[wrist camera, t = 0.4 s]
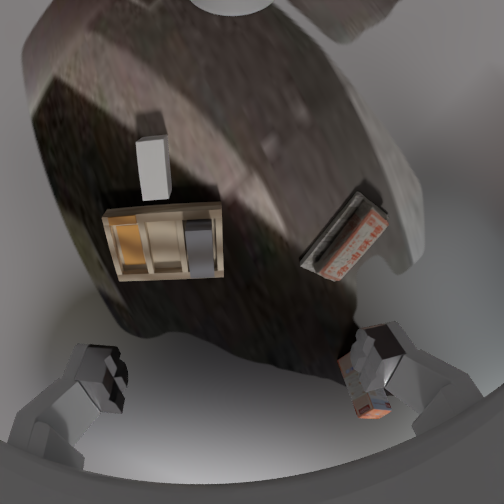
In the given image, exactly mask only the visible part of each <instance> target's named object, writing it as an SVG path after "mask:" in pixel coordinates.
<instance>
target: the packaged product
mask: <svg viewBox="0 0 504 504" xmlns="http://www.w3.org/2000/svg"><path fill="white" fill-rule="evenodd" d="M388 218H389V217H388V216H387V215H386V214H385V213H384V212H383V211H382V210H381V209H380V208H379V207H377V206H376V205H375V204H373V203H372V202H371V201H369V200H368V199H367V198H366V197H365V196H364V195H362V194H361V193H360V192H358V191H357V192H356V193H355V194H354V195H353V197H352V198H351V199H350V201H349V202H348V203H347V204H346V206H345V207H344V208H343V209H342V210H341V211H340V213H339V214H338V215H337V216H336V217H335V219H334V220H333V221H332V222H331V223H330V225H329V226H328V227H327V228H326V229H325V231H324V232H323V233H322V234H321V236H320V237H319V238H318V239H317V240H316V242H315V243H314V244H313V246H312V247H311V248H310V249H309V251H308V252H307V253H306V255H305V256H304V257H303V258H302V260H301V261H300V266H301V267H303V268H305V269H308V270H310V271H312V272H315V273H316V274H319V275H320V276H322V277H324V278H326V279H330V280H333V281H339V280H341V279H342V278H343V276H344V275H345V274H346V273H347V272H348V271H349V270H350V269H351V268H352V267H353V266H354V264H355V263H356V262H357V261H358V260H359V259H360V258H361V257H362V255H363V254H364V253H365V252H366V251H367V250H368V249H369V248H370V246H371V245H372V244H373V243H374V242H375V241H376V239H377V238H378V237H379V236H380V235H381V234H382V233H383V231H384V230H385V229H386V228H387V226H388V225H389V222H388V220H387V219H388Z"/></svg>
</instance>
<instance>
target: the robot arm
mask: <svg viewBox="0 0 504 504" xmlns="http://www.w3.org/2000/svg"><path fill="white" fill-rule="evenodd" d="M190 1H191V2H192V3H193V4H195V5H196V6H197V7H199V8H201V9H203V10H205V11H207V12H210V13H213V14H217V15H224V16H240V15H247V14H251V13H254V12H257V11H260V10H262V9H264V8H265V7H267V6H269V5H270V4H271V3H272V2H274V0H190ZM355 337H356V339H357V341H356V342H355V343H354V344H353V345H352V348H351V351H350V359H351V363H352V366H353V368H354V370H356V371H358V372H359V373H360V376H359V380H360V382H361V384H362V386H363V388H364V391H365V392H369V391H373V390H377V389H380V388H384V387H385V389H387V390H388V391H389V392H391V393H392V394H393V395H394V396H396V397H397V398H398V399H400V400H401V401H402V402H404V403H405V404H406V405H408V406H409V407H411V408H412V409H413V410H414V411H416V412H417V413H419V414H420V415H419V417H418V418H417V419H416V420H415V421H414V422H413V424H412V428H413V430H414V432H415V434H416V437H414V438H412V439H410V440H407V441H405V442H403V443H400V444H398V445H396V446H393V447H391V448H388V449H386V450H383V451H381V452H378V453H375V454H372V455H370V456H367V457H364V458H361V459H358V460H354V461H351V462H348V463H345V464H342V465H338V466H334V467H331V468H326V469H322V470H319V471H314V472H309V473H305V474H300V475H295V476H289V477H283V478H277V479H270V480H262V481H254V482H243V483H229V484H171V483H156V482H147V481H138V480H131V479H124V478H118V477H113V476H107V475H102V474H98V473H93V472H88V471H84V470H83V466H84V459H85V458H84V457H83V455H82V454H81V453H79V452H78V451H77V450H76V449H75V448H74V447H73V446H74V445H75V444H76V443H77V442H78V440H79V439H80V438H81V437H82V435H83V434H84V433H85V432H86V431H87V429H88V428H89V427H90V426H91V424H92V423H93V422H94V421H95V420H96V418H97V417H98V416H99V415H100V414H101V412H107V413H120V414H122V413H123V406H124V401H125V397H124V396H123V394H122V392H123V391H124V390H125V389H126V388H127V385H128V371H127V367H126V364H125V362H123V361H122V360H121V359H119V358H120V354H121V353H120V351H119V349H118V347H115V346H104V345H92V344H79V343H78V344H77V345H76V346H75V347H74V349H73V351H72V354H71V356H70V359H69V361H68V363H67V366H66V369H65V371H64V374H63V377H62V379H60V378H58V379H57V380H56V381H54V382H53V383H52V384H51V385H50V386H49V387H47V388H46V389H45V390H44V391H42V392H41V393H40V394H39V395H38V396H37V397H35V398H34V399H33V400H32V401H31V402H29V403H28V404H27V405H26V406H25V407H23V408H22V409H21V410H20V411H19V412H18V413H17V414H16V417H15V420H14V423H13V426H12V429H11V432H10V435H9V439H8V442H7V443H5V442H3V441H1V440H0V504H504V383H503V384H502V385H501V386H500V387H498V388H497V389H496V390H494V391H493V392H491V393H490V394H489V395H487V396H486V397H483V396H482V394H481V393H480V391H479V390H478V388H477V387H476V385H475V384H474V382H473V381H472V379H471V378H470V376H469V375H468V374H467V373H465V372H463V371H461V370H459V369H457V368H455V367H454V366H452V365H450V364H448V363H446V362H444V361H442V360H440V359H438V358H436V357H434V356H432V355H431V354H428V353H426V352H425V351H423V350H417V348H416V347H415V345H414V344H413V343H412V341H411V340H410V338H409V337H408V336H407V334H406V333H405V332H404V330H403V329H402V327H401V326H400V325H399V323H398V322H396V321H393V322H389V323H384V324H378V325H374V326H369V327H364V328H360V329H359V330H358V331H357V333H356V336H355Z"/></svg>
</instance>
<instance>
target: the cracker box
mask: <svg viewBox="0 0 504 504" xmlns="http://www.w3.org/2000/svg"><path fill="white" fill-rule="evenodd" d="M337 361H338V364H339V367H340V369H341V372H342V375H343V378H344V380H345V383H346V386H347V389H348V391H349V394H350V397H351V400H352V402H353V406H354V408H355V411H356V414H357V417H358V418H370V419H379V418H381V417H383V416H384V415H386V414H388V413H389V412H391V411H392V409H391V406H390V404H389V401H388V399H387V397H386V394H385V392H384V389H383V388H380V389H377V390H373V391H369V392H365V391H364V388H363V386H362V384H361V382H360V380H359V376H360V373H359V372H358V371H356V370H354V368H353V366H352V363H351V359H350V352H349V353H347V354H346V355H344V356H343V357H341V358H340V359H338V360H337Z"/></svg>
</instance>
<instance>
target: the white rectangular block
mask: <svg viewBox="0 0 504 504" xmlns="http://www.w3.org/2000/svg"><path fill="white" fill-rule="evenodd" d="M136 150H137V160H138V168H139V176H140V184H141V191H142V198H143V201H149V200H161V199H169V197H170V194H171V191H172V184H171V173H170V161H169V147H168V134H167V135H157V136H148V137H142V138H140V139H139V140H138V141H137V142H136Z"/></svg>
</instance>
